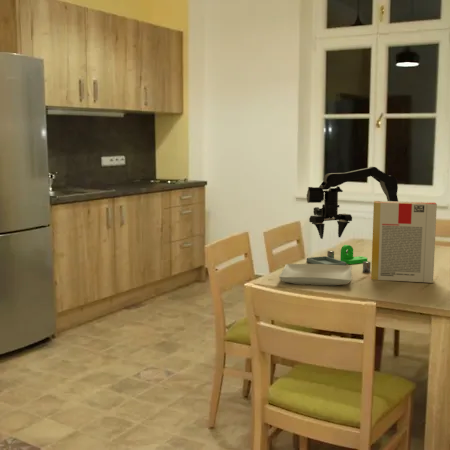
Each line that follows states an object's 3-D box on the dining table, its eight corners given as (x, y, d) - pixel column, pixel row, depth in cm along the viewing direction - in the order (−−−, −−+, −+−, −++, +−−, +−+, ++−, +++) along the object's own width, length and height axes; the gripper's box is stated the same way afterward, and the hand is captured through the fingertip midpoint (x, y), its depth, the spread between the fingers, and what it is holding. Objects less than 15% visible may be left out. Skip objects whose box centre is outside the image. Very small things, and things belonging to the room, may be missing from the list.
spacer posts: (358, 256, 285) (358, 248, 285) (402, 269, 257) (403, 259, 257) (324, 259, 278) (324, 251, 277) (365, 272, 250) (366, 263, 249)
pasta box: (431, 278, 239) (435, 202, 235) (433, 282, 231) (436, 204, 228) (371, 275, 245) (374, 200, 241) (371, 279, 237) (373, 202, 233)
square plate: (351, 274, 249) (352, 264, 248) (351, 289, 222) (352, 278, 222) (285, 271, 254) (286, 261, 254) (278, 285, 228) (278, 275, 227)
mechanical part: (349, 265, 267) (349, 247, 266) (340, 262, 272) (340, 245, 271) (370, 262, 272) (370, 245, 271) (361, 260, 278) (361, 243, 276)
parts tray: (325, 260, 276) (325, 256, 275) (346, 266, 261) (346, 262, 261) (306, 262, 272) (306, 257, 271) (326, 268, 257) (326, 264, 257)
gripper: (338, 200, 274) (337, 234, 276) (302, 201, 267) (302, 237, 269) (353, 202, 264) (352, 237, 266) (316, 204, 257) (316, 240, 259)
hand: (330, 238), depth 265 cm, fingers open, 9 cm apart
